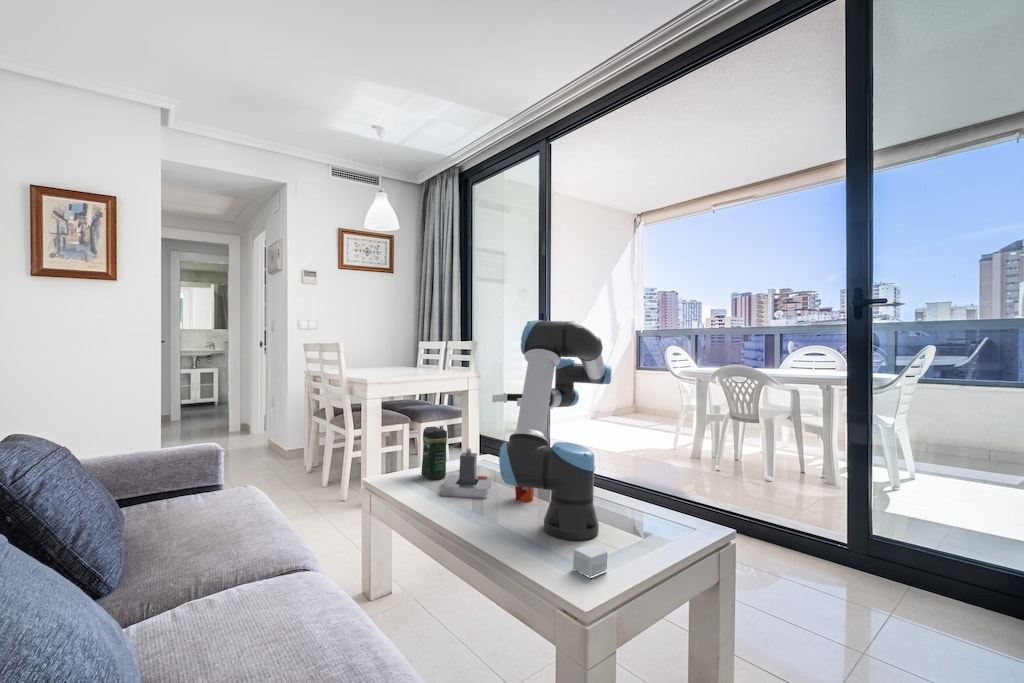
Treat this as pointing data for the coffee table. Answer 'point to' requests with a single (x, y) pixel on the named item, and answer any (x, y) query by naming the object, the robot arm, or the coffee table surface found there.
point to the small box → (589, 560)
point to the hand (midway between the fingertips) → (505, 400)
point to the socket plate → (466, 487)
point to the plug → (468, 468)
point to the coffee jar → (434, 453)
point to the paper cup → (524, 494)
